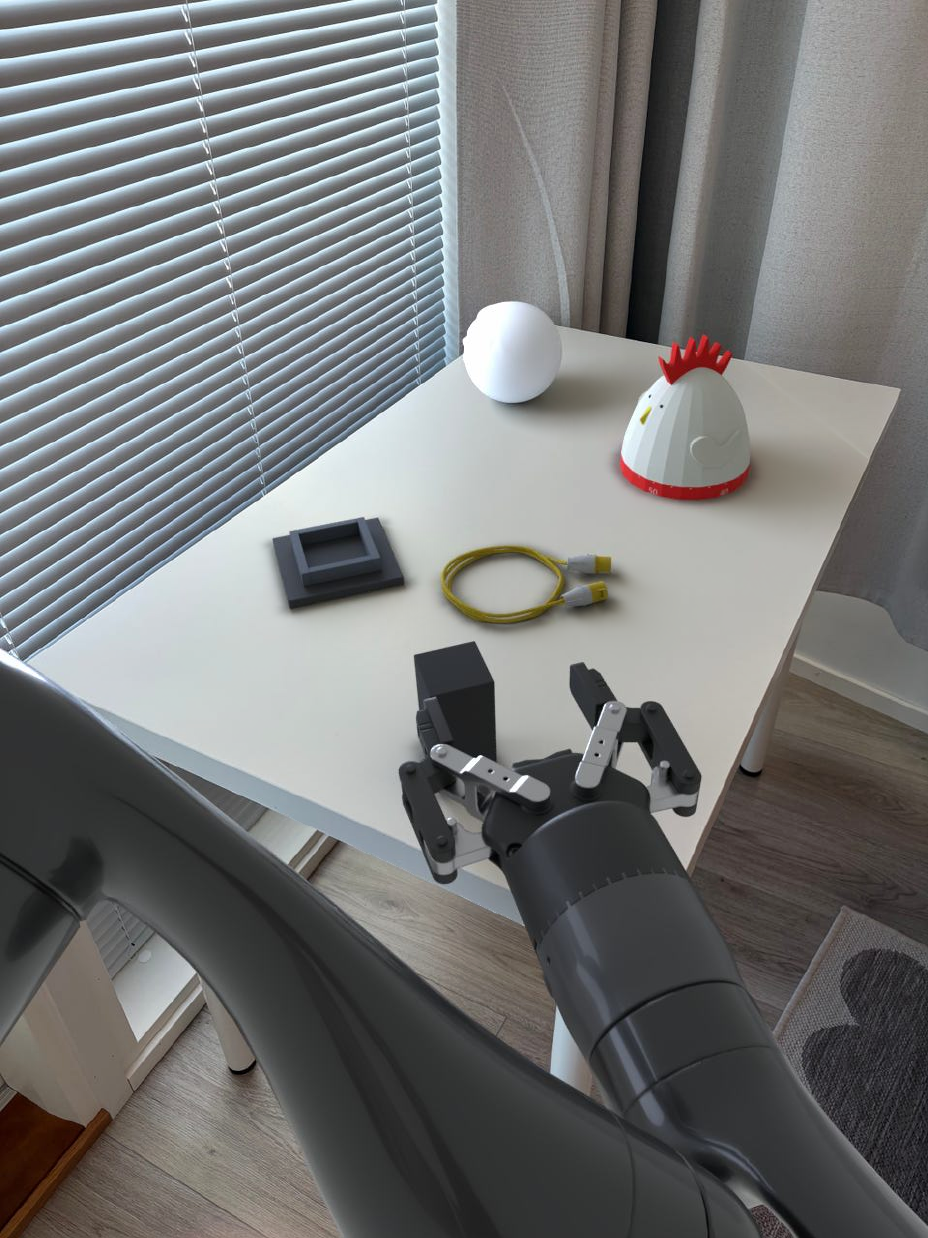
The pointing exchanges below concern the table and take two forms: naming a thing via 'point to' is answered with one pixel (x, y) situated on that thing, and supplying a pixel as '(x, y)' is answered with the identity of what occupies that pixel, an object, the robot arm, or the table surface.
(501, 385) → the decorative ball
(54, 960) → the robot arm
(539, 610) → the yellow coiled cord
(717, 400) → the kitchen timer
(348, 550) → the base pad
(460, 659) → the tall dark pillar
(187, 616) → the table surface
